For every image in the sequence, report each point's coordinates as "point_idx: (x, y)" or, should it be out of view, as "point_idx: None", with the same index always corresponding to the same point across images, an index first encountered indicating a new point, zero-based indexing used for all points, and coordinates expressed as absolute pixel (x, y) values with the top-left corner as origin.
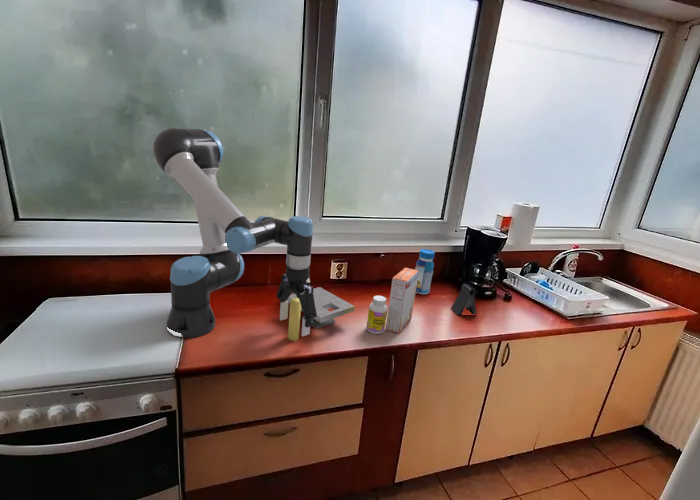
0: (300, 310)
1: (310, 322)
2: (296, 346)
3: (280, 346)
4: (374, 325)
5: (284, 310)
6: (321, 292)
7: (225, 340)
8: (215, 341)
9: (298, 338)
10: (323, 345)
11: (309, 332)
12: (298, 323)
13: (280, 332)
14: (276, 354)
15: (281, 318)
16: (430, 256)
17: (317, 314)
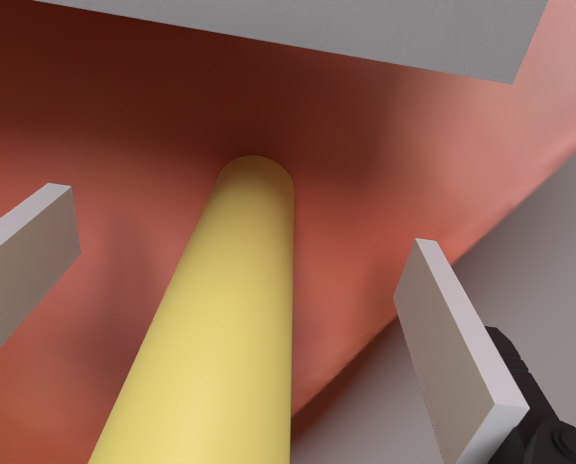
0: (282, 381)
1: (525, 383)
2: (345, 246)
3: None
4: None
5: (13, 285)
6: None
7: (61, 419)
8: (50, 441)
9: (289, 178)
10: (502, 100)
11: (439, 251)
12: (292, 276)
13: (132, 203)
14: (318, 357)
15: (68, 259)
16: None
17: (405, 36)
